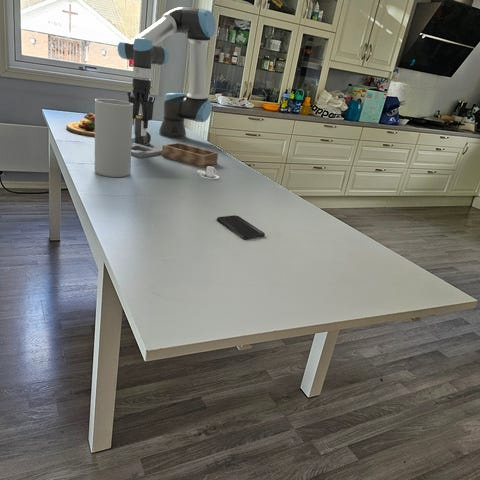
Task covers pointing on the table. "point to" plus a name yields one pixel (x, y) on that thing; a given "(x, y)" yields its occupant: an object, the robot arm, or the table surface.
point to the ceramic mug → (145, 139)
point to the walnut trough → (190, 154)
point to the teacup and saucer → (208, 172)
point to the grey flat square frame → (147, 151)
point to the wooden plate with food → (84, 126)
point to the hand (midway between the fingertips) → (139, 134)
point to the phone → (240, 227)
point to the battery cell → (138, 130)
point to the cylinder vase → (113, 137)
